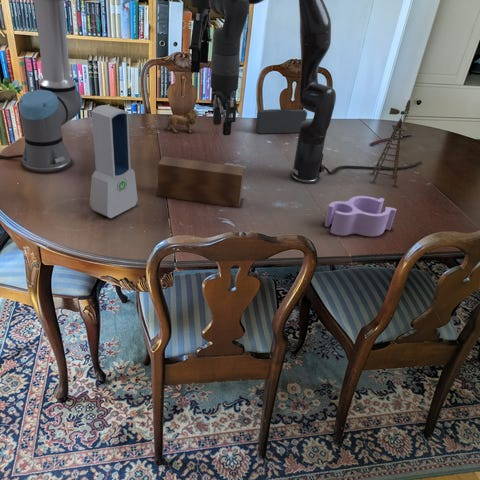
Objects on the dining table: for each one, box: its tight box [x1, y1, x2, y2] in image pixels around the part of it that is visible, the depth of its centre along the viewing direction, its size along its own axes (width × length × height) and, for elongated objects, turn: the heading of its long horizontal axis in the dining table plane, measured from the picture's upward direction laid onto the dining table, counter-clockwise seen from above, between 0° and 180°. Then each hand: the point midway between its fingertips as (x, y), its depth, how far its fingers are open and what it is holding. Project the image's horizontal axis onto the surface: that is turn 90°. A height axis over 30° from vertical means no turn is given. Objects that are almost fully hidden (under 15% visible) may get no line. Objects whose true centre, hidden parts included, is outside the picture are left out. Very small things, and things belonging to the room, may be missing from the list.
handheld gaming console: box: [255, 108, 308, 134], centre depth 205 cm, size 23×3×10 cm, turn 108°
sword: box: [370, 134, 411, 146], centre depth 212 cm, size 31×3×1 cm, turn 126°
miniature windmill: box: [371, 99, 411, 187], centre depth 166 cm, size 9×8×30 cm
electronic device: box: [89, 104, 139, 219], centre depth 131 cm, size 12×8×30 cm, turn 148°
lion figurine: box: [163, 108, 200, 133], centre depth 195 cm, size 15×5×9 cm, turn 110°
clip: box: [324, 195, 398, 237], centre depth 141 cm, size 20×12×7 cm, turn 109°
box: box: [157, 156, 245, 208], centre depth 147 cm, size 26×6×11 cm, turn 83°
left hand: (199, 67), depth 149 cm, fingers open, 13 cm apart
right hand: (221, 129), depth 133 cm, fingers open, 8 cm apart
